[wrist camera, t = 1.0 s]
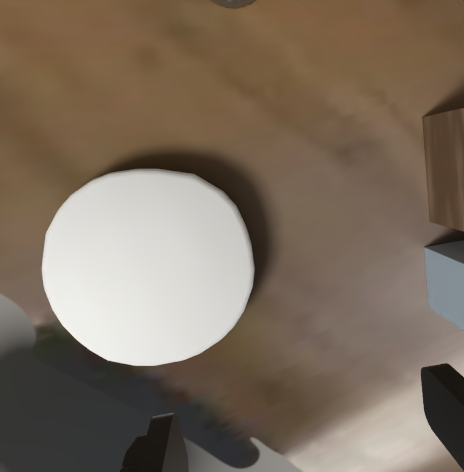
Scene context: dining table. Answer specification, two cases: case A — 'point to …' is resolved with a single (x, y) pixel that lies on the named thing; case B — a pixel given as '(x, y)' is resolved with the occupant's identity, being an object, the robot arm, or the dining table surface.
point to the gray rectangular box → (446, 280)
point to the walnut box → (445, 167)
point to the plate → (148, 266)
